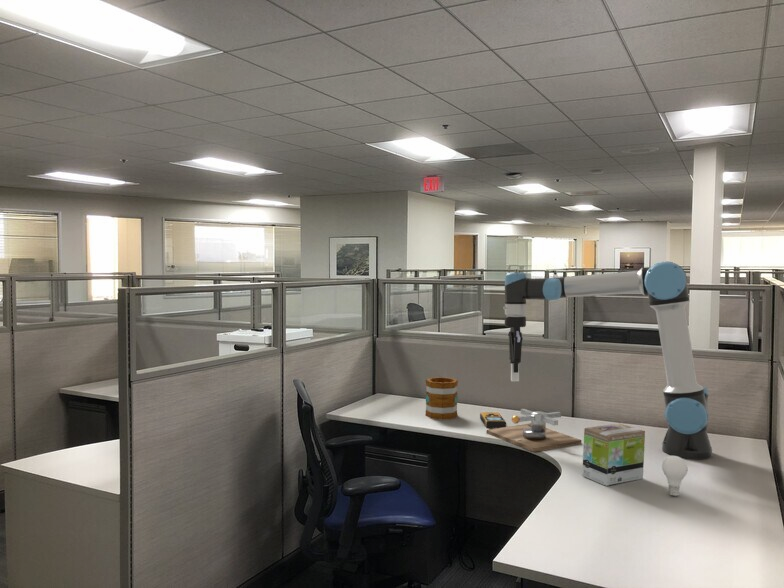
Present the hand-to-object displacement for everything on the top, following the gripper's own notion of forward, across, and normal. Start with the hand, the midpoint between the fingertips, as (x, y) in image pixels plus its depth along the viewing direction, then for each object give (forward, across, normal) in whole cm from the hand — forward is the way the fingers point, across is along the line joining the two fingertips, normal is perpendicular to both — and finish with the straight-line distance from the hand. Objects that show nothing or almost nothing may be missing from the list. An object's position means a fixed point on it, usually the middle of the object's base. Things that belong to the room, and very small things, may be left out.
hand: (514, 381), depth 216 cm
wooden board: (+21, -2, +7) cm, 22 cm away
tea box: (+22, +39, +21) cm, 50 cm away
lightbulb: (+22, +54, +32) cm, 66 cm away
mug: (+21, -38, -24) cm, 49 cm away
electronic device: (+22, -23, -4) cm, 32 cm away
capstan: (+20, +1, +8) cm, 22 cm away
